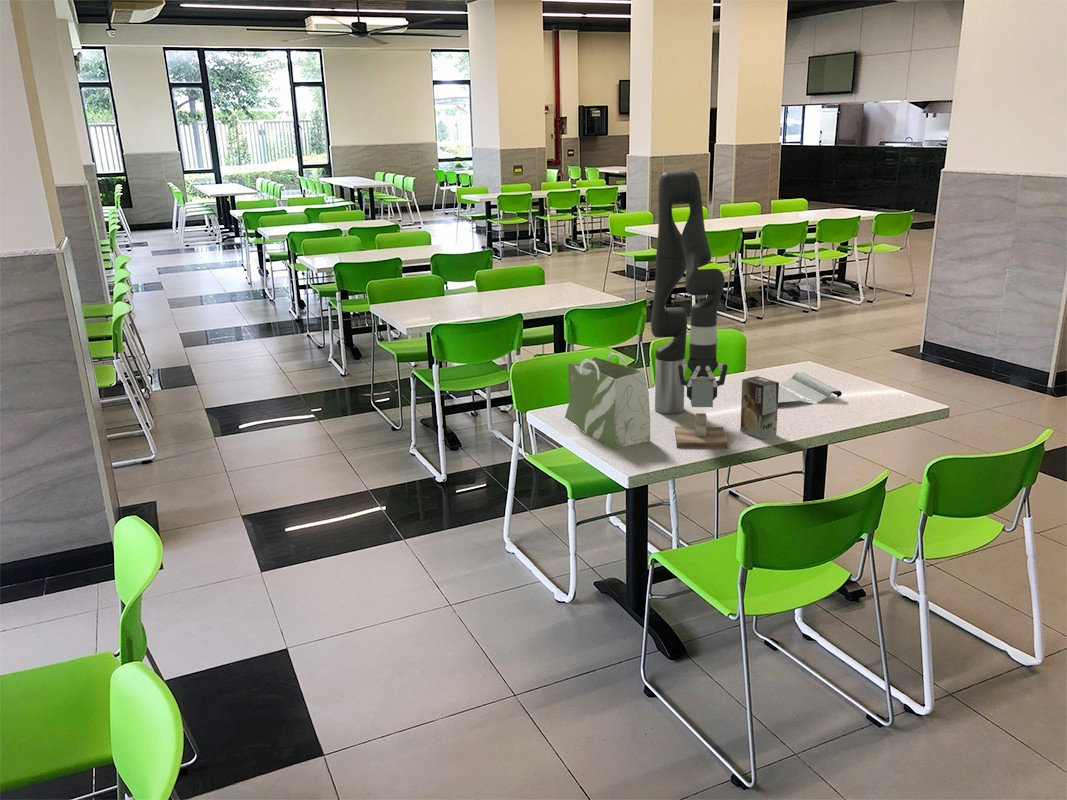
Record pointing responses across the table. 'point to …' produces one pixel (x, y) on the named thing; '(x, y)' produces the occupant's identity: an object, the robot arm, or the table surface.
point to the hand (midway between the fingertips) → (701, 398)
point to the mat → (805, 389)
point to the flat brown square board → (700, 435)
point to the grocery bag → (609, 401)
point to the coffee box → (759, 407)
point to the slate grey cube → (702, 392)
